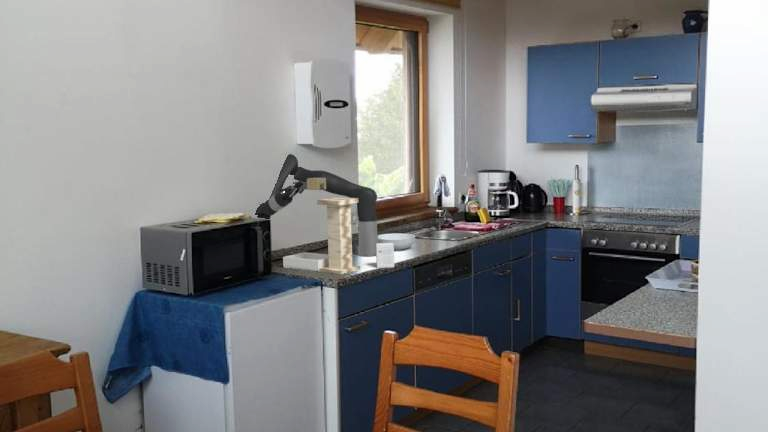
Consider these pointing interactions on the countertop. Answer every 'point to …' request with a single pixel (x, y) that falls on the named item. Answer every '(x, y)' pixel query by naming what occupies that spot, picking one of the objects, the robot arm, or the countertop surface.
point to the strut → (313, 184)
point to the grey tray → (306, 261)
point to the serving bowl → (397, 240)
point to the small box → (385, 255)
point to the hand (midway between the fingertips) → (303, 182)
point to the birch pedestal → (339, 235)
